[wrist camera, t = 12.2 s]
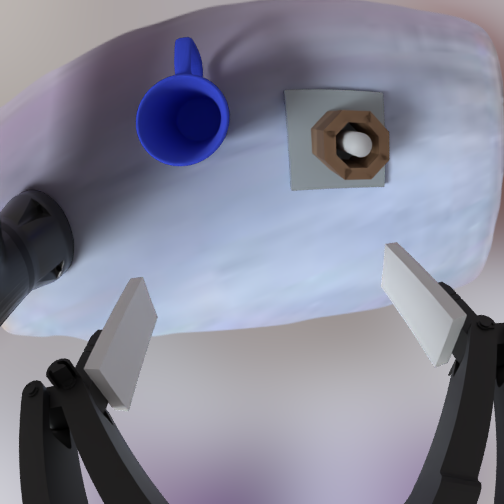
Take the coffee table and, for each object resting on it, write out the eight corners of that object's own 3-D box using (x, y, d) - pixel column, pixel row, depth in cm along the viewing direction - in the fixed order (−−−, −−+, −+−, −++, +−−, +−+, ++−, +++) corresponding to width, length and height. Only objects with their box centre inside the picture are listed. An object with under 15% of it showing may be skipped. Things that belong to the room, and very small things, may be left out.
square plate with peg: (290, 188, 35) (301, 208, 27) (283, 90, 29) (293, 82, 22) (381, 185, 34) (410, 203, 27) (379, 93, 29) (411, 89, 22)
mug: (235, 54, 27) (229, 29, 18) (235, 152, 33) (229, 164, 24) (166, 60, 27) (135, 41, 18) (167, 154, 33) (137, 169, 24)
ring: (312, 170, 33) (325, 180, 27) (309, 111, 30) (322, 109, 24) (367, 168, 32) (388, 179, 27) (366, 112, 29) (388, 112, 24)
